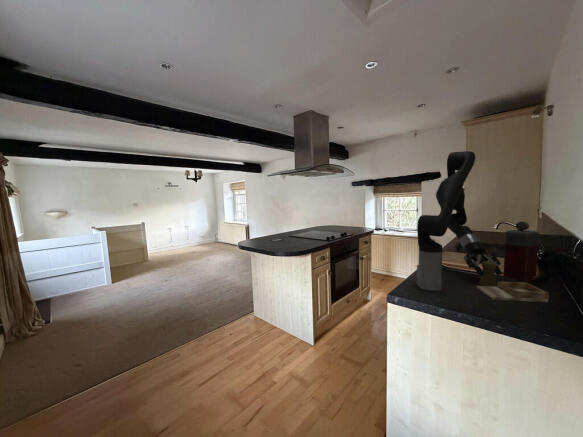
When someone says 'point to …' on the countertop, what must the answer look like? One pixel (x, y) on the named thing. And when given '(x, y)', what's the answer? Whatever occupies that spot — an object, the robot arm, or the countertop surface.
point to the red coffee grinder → (521, 253)
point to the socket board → (515, 292)
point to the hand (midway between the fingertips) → (491, 274)
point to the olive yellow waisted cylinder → (488, 274)
